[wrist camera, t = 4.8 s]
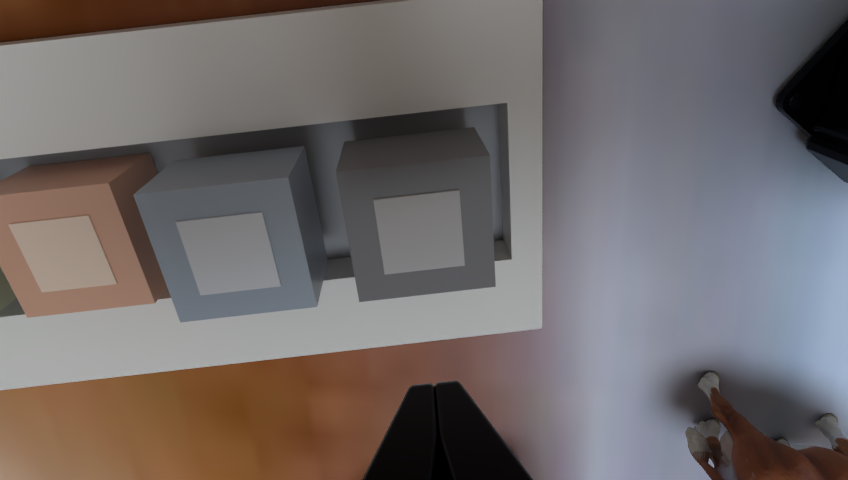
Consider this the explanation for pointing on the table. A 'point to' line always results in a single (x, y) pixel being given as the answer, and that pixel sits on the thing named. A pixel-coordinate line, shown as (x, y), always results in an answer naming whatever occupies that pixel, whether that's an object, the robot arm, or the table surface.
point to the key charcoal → (418, 213)
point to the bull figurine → (761, 447)
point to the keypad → (275, 129)
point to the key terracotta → (78, 236)
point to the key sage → (5, 291)
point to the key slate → (236, 233)
